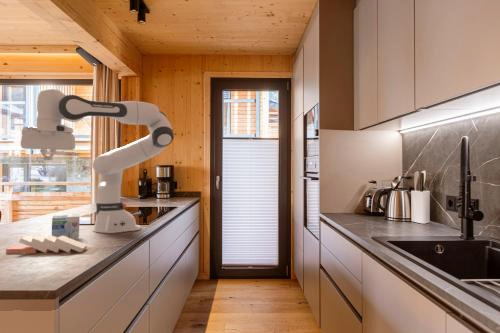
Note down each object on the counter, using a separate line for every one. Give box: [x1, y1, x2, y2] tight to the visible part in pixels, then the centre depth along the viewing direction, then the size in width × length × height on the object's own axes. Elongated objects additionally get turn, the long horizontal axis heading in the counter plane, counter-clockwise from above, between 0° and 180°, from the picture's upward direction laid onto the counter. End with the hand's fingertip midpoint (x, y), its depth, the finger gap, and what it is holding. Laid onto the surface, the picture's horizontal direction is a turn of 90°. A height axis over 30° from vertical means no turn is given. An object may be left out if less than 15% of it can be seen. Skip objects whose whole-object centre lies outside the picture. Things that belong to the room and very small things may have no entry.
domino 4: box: [43, 234, 73, 253], centre depth 124 cm, size 2×5×10 cm
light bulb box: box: [51, 213, 80, 240], centre depth 146 cm, size 11×7×11 cm, turn 117°
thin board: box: [22, 246, 102, 256], centre depth 124 cm, size 24×10×1 cm, turn 97°
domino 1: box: [5, 245, 40, 255], centre depth 122 cm, size 2×5×10 cm
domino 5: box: [55, 235, 88, 252], centre depth 124 cm, size 2×5×10 cm
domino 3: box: [31, 234, 61, 253], centre depth 123 cm, size 2×5×10 cm
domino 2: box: [18, 234, 50, 253], centre depth 123 cm, size 2×5×10 cm
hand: (48, 160), depth 138 cm, fingers closed
